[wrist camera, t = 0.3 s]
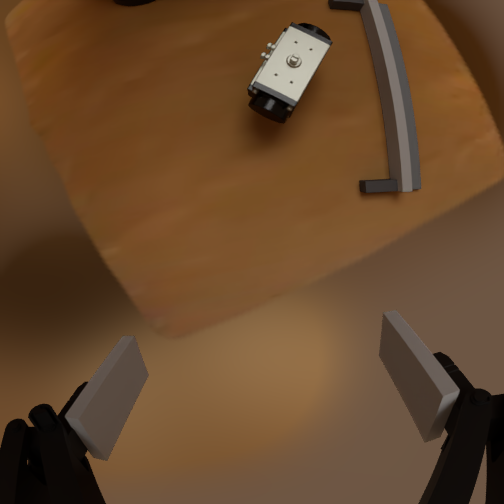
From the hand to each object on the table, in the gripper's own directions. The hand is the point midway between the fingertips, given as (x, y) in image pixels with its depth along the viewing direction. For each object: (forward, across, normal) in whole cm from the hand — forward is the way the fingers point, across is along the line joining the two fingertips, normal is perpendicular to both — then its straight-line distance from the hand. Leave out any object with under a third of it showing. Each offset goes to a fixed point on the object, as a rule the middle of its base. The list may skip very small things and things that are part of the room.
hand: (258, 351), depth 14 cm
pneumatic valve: (+27, +5, +20) cm, 34 cm away
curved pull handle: (+27, +20, +20) cm, 39 cm away
